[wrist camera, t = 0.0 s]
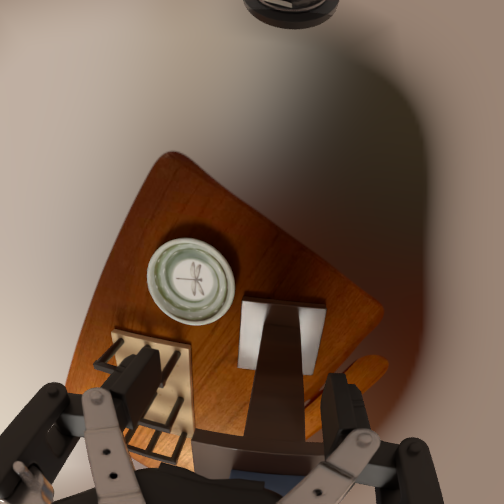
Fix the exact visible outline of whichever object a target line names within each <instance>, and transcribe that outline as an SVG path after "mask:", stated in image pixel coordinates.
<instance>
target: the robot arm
mask: <svg viewBox="0 0 504 504" xmlns="http://www.w3.org/2000/svg"><path fill="white" fill-rule="evenodd" d="M257 1H258V2H259V3H260V4H262V5H263V6H265V7H266V8H269V9H271V10H273V11H277V12H281V13H288V14H300V13H306V12H310V11H313V10H316V9H318V8H319V7H321V6H322V5H323V4H324V3H325V2H326V1H327V0H257ZM161 380H162V370H161V361H160V352H159V350H158V349H153V348H149V347H142V349H141V350H140V351H139V352H138V354H137V355H135V354H131V355H130V356H128V357H126V358H124V359H123V361H122V362H121V363H120V364H119V366H118V367H117V368H116V369H115V371H113V373H112V374H111V375H110V376H109V377H108V379H107V380H106V381H105V382H104V384H103V385H102V386H101V387H100V388H91V389H89V390H87V391H85V392H84V394H83V395H82V394H73V393H67V390H66V387H65V386H64V385H62V384H61V383H56V382H52V383H48V384H46V385H44V386H43V387H42V388H41V389H40V390H39V391H38V392H37V393H36V395H35V396H34V397H33V398H32V399H31V400H30V401H29V403H28V404H27V405H26V406H25V407H24V408H23V409H22V410H21V412H20V413H19V414H18V415H17V416H16V417H15V419H14V420H13V421H12V422H11V423H10V424H9V426H8V427H7V428H6V429H5V430H4V432H3V433H2V434H1V435H0V504H339V503H340V502H341V501H342V500H343V498H344V497H345V496H346V495H347V493H348V492H349V491H350V490H351V488H352V487H353V486H354V485H355V483H359V484H364V485H369V486H374V487H375V492H376V503H377V504H444V501H443V497H442V493H441V489H440V486H439V482H438V478H437V475H436V471H435V468H434V464H433V461H432V457H431V454H430V451H429V448H428V446H427V444H426V443H425V442H424V441H422V440H421V439H419V438H414V437H413V438H412V437H411V438H406V439H404V440H403V441H402V442H401V443H400V444H394V443H388V442H384V441H381V440H380V438H379V436H378V435H377V434H376V433H375V432H374V431H372V430H371V428H370V424H369V421H368V416H367V413H366V409H365V407H364V406H365V405H364V401H363V398H362V394H361V391H360V390H359V389H358V388H357V387H356V385H355V384H348V383H347V379H346V375H345V374H343V373H329V374H328V377H327V380H326V384H325V387H324V391H323V394H322V398H321V406H320V409H321V420H322V431H323V443H324V456H325V461H324V462H323V461H321V462H320V463H319V464H318V465H317V466H316V467H315V468H314V469H313V470H312V471H311V472H310V473H309V474H308V475H307V476H305V477H304V478H303V479H302V480H301V481H300V482H299V483H298V484H297V485H296V486H295V487H294V488H293V489H292V490H291V491H289V492H288V493H287V494H286V495H285V496H284V497H283V496H282V495H280V494H278V493H276V492H274V491H272V490H269V489H266V488H264V486H265V481H255V480H247V479H239V478H237V479H208V478H206V477H204V476H201V475H199V474H197V473H194V472H192V471H190V470H188V469H186V468H182V467H178V466H174V465H170V464H166V463H163V462H161V463H160V466H159V468H146V469H139V470H135V468H134V465H133V462H132V459H131V456H130V453H129V450H128V447H127V444H126V441H125V438H124V435H123V431H124V429H125V428H129V429H132V430H134V429H135V427H136V425H137V424H138V422H139V420H140V419H141V417H142V415H143V413H144V412H145V410H146V408H147V407H148V405H149V403H150V401H151V400H152V398H153V396H154V395H155V393H156V391H157V389H158V388H159V386H160V384H161ZM52 425H53V426H52ZM49 429H50V430H49ZM47 432H48V433H47ZM80 437H84V438H85V443H86V448H87V453H88V458H89V463H90V467H91V472H92V476H93V480H94V483H95V487H94V488H92V489H89V490H86V491H84V492H81V493H78V494H76V495H72V496H69V497H66V498H63V499H60V500H57V501H54V502H53V497H54V489H53V487H52V483H53V482H54V480H55V478H56V477H57V475H58V473H59V471H60V470H61V468H62V467H63V465H64V463H65V462H66V460H67V458H68V457H69V455H70V453H71V452H72V450H73V449H74V447H75V445H76V444H77V442H78V441H79V439H80Z"/></svg>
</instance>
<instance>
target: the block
mask: <svg viewBox="0 0 504 504" xmlns="http://www.w3.org/2000/svg"><path fill="white" fill-rule="evenodd" d="M304 477H305V476H294V475H277V474H266V473H256V472H248V471H240V470H233V469H232V470H231V472H230V477H229V479H237V478H239V479H247V480H255V481H265V486H264V488H266V489H269V490H272V491H274V492H276V493H278V494H280V495H282V496H283V497H284V496H285V495H286V494H287V493H288V492H289V491H291V490H292V489H293V488H294V487H295V486H296V485H297V484H298V483H299V482H300V481H301V480H302V479H303V478H304Z"/></svg>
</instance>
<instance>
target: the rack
mask: <svg viewBox="0 0 504 504" xmlns="http://www.w3.org/2000/svg"><path fill="white" fill-rule="evenodd" d="M111 334H112V340H113V345H112V346H111V347H110V348H109V349H108V350H107V351H106V352H105V353H104V354H103V355H102V356H101V357H100V358H99V359H98V360H96V361H95V362H94V363H93V365H94V369H97V370H100V371H103V372H106V373H109V374H112V373H113V371H115V369H116V368H117V367H118V366H119V364H120V363H121V362H122V361H123V359H124V358H126V357H128V356H130V355H131V354H135V355H137V354H138V352H139V351H140V350H141V349H142V347H149V348H153V349H158V350H159V352H160V361H161V370H162V380H161V384H160V386H159V388H158V389H157V391H156V393H155V395H154V396H153V398H152V400H151V401H150V403H149V405H148V407H147V408H146V410H145V412H144V413H143V415H142V417H141V419H140V420H139V422H138V424H137V425H136V427H135V429H134V430H132V429H129V430H128V432H127V434H126V435H125V437H124V438H125V441H126V444H127V447H128V450H129V451H130V452H133V453H136V454H139V455H142V456H145V457H148V458H152V459H155V460H158V461H162V462H165V463H169V464H173V465H177V462H178V458H179V456H180V453H181V451H182V448H183V445H184V443H185V440H186V438H187V437H188V438H192V436H193V434H194V431H195V418H194V402H193V384H192V361H191V345H188V344H182V343H177V342H172V341H167V340H162V339H157V338H152V337H147V336H143V335H138V334H134V333H130V332H126V331H121V330H117V329H114V330H113V331H112V332H111ZM114 354H115V357H116V362H117V366H113V365H110V364H107V362H108V361H109V360H110V359H111V357H112V356H113V355H114ZM139 425H141V426H145V427H148V428H152V429H155V432H154V434H153V436H152V438H151V440H150V442H149V444H148V446H147V448H146V450H143V449H140V448H137V447H134V446H131V445H128V444H129V442H130V440H131V438H132V437H133V435H134V433H135V431H136V429H137V428H138V426H139ZM162 432H166V433H171V434H175V435H179V436H180V437H179V440H178V442H177V445H176V447H175V450H174V452H173V454H172V457H167V456H164V455H160V454H157V453H153V449H154V447H155V445H156V443H157V441H158V439H159V437H160V435H161V433H162Z"/></svg>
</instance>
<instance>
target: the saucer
mask: <svg viewBox="0 0 504 504" xmlns="http://www.w3.org/2000/svg"><path fill="white" fill-rule="evenodd" d="M147 282H148V287H149V291H150V293H151V296H152V298H153V299H154V301H155V303H156V304H157V305H158V307H159V308H160V309H161V310H162V311H163V312H164V313H165V314H167V315H168V316H169V317H171V318H172V319H174V320H176V321H178V322H181V323H184V324H188V325H205V324H209V323H211V322H214V321H216V320H217V319H219V318H220V317H222V316H223V315H224V314H225V313H226V312H227V310H228V309H229V307H230V306H231V304H232V301H233V298H234V294H235V280H234V276H233V272H232V270H231V268H230V265H229V264H228V262H227V260H226V259H225V258H224V257H223V255H222V254H221V253H220V252H219V251H218V250H216V249H215V248H214V247H213V246H211V245H209V244H208V243H206V242H203V241H201V240H198V239H194V238H178V239H174V240H171V241H168V242H166V243H165V244H163V245H162V246H160V247H159V248H158V249H157V250H156V252H155V253H154V254H153V256H152V258H151V260H150V262H149V265H148V270H147Z"/></svg>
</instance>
